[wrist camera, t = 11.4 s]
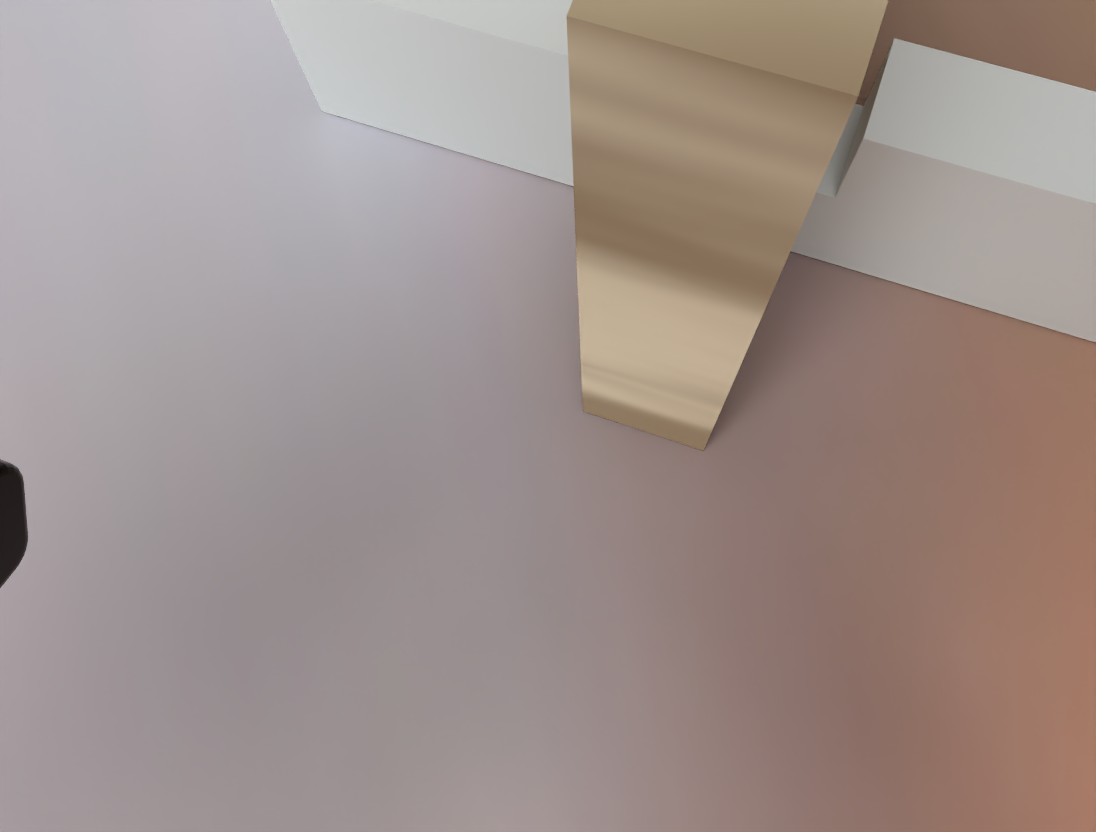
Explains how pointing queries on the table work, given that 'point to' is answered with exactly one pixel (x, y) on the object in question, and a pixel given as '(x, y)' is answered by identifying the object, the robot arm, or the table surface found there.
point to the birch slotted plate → (696, 184)
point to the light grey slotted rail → (848, 183)
